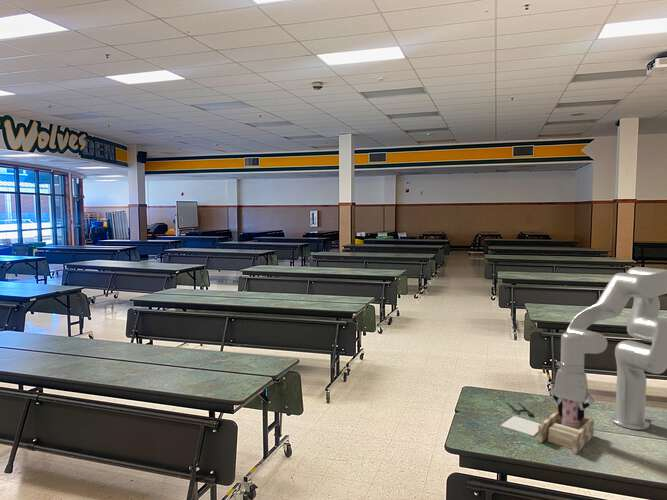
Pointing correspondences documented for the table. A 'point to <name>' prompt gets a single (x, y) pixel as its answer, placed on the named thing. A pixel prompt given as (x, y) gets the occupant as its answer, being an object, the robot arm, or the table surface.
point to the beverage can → (570, 414)
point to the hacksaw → (521, 410)
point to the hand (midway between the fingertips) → (570, 416)
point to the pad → (521, 426)
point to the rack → (578, 438)
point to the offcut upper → (562, 432)
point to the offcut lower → (560, 441)
